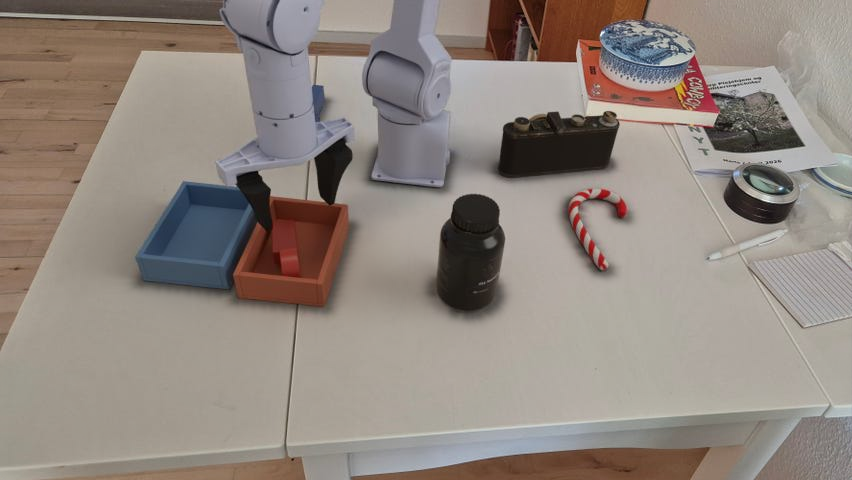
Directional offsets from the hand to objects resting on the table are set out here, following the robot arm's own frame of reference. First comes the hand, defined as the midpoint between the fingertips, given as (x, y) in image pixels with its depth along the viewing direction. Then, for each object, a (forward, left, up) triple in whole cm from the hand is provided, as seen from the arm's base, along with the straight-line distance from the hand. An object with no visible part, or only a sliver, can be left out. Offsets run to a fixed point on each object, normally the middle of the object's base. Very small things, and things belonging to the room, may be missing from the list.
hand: (297, 212), depth 74 cm
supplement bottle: (-19, +4, -6) cm, 21 cm away
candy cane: (-35, -9, -6) cm, 37 cm away
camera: (-29, -23, -6) cm, 38 cm away
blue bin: (+11, +1, -5) cm, 12 cm away
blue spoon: (+6, -27, -5) cm, 28 cm away
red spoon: (0, +2, -3) cm, 4 cm away
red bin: (0, +2, -5) cm, 6 cm away
